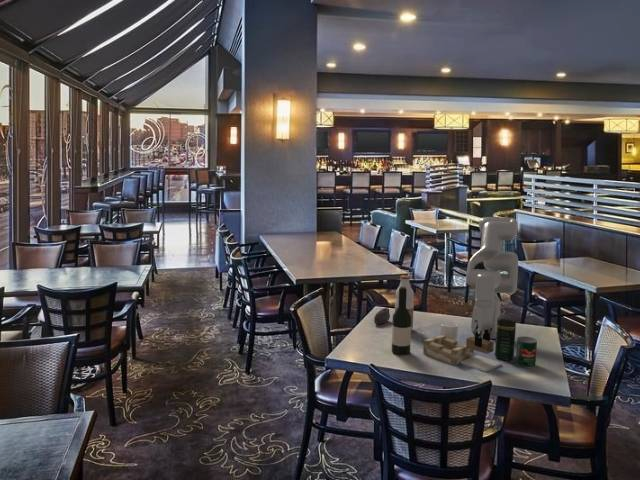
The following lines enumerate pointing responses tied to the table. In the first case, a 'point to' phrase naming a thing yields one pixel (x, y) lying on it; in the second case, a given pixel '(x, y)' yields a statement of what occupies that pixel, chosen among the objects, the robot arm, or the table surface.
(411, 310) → the fruit juice
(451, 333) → the white cup
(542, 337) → the table surface
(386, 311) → the perforated stone tool
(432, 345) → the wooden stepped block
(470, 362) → the ceramic coaster
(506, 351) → the coffee jar
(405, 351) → the wine bottle
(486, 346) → the wooden block
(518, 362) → the canned tomato
